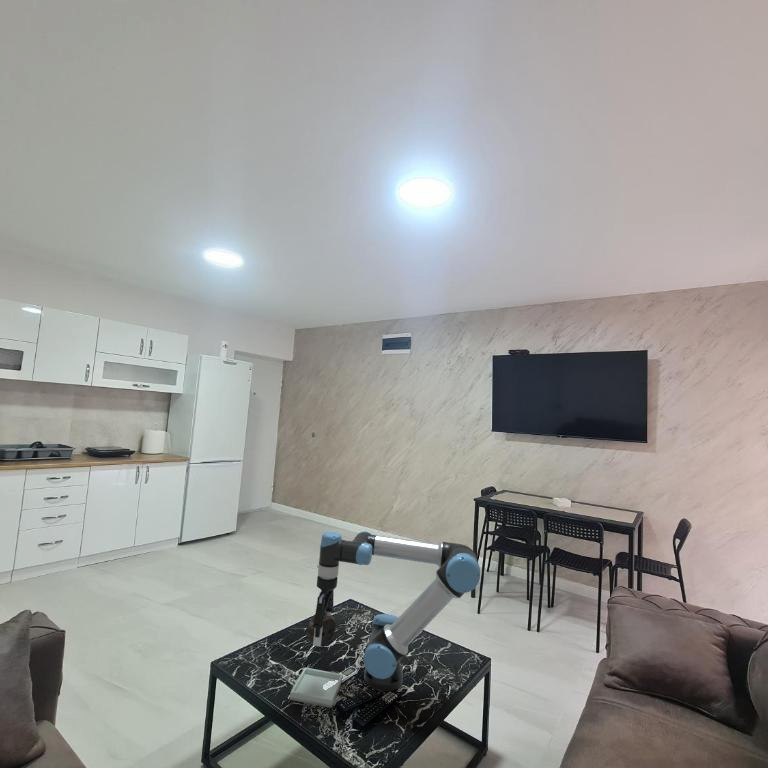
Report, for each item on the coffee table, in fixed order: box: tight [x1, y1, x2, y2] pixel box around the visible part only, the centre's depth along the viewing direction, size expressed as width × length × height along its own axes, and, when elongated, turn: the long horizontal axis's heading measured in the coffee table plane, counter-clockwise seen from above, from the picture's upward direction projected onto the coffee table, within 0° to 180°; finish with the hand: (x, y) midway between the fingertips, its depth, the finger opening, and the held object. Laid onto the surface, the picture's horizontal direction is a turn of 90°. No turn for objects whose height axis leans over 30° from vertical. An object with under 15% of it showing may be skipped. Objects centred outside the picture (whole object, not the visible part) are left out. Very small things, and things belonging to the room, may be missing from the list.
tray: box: [289, 667, 344, 709], centre depth 152 cm, size 15×15×2 cm
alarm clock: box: [306, 606, 337, 651], centre depth 154 cm, size 11×5×16 cm, turn 137°
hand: (321, 637), depth 154 cm, fingers closed on alarm clock, 11 cm apart
